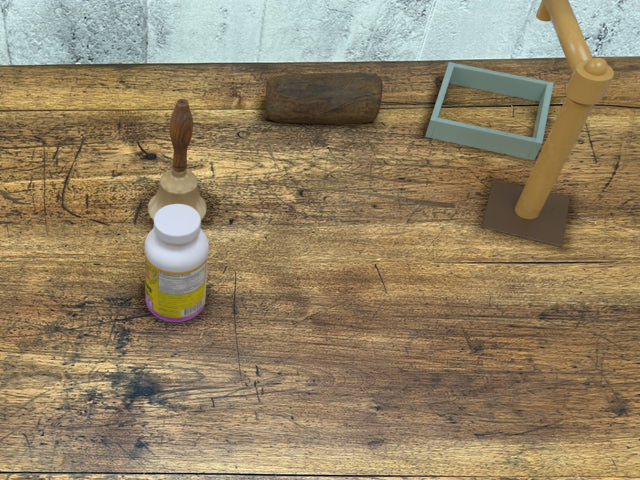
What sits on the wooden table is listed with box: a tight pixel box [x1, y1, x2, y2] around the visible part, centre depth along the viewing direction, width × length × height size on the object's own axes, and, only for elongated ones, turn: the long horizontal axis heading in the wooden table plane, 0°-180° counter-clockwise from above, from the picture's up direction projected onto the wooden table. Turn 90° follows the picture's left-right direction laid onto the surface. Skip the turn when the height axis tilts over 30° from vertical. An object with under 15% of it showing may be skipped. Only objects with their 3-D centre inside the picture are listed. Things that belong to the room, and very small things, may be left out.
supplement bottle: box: [144, 204, 210, 323], centre depth 86 cm, size 7×7×13 cm
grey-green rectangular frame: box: [424, 61, 555, 161], centre depth 107 cm, size 14×14×4 cm
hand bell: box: [147, 98, 207, 221], centre depth 94 cm, size 8×8×16 cm
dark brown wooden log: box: [263, 72, 384, 125], centre depth 108 cm, size 15×7×7 cm, turn 90°
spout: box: [535, 0, 615, 105], centre depth 88 cm, size 20×4×5 cm, turn 175°
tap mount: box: [481, 96, 595, 248], centre depth 91 cm, size 9×9×17 cm
